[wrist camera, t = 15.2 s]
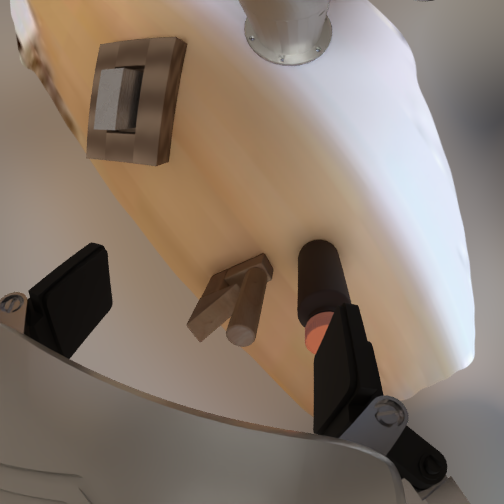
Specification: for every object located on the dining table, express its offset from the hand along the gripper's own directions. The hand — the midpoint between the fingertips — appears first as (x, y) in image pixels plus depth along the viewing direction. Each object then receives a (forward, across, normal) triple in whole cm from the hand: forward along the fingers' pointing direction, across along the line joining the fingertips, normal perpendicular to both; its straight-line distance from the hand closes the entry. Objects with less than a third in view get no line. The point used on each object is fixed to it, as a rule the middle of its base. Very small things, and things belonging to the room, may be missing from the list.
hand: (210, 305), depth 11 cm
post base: (+34, +24, -8) cm, 43 cm away
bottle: (+34, -10, +13) cm, 38 cm away
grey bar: (+33, +24, -8) cm, 42 cm away
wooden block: (+34, +2, +19) cm, 39 cm away
